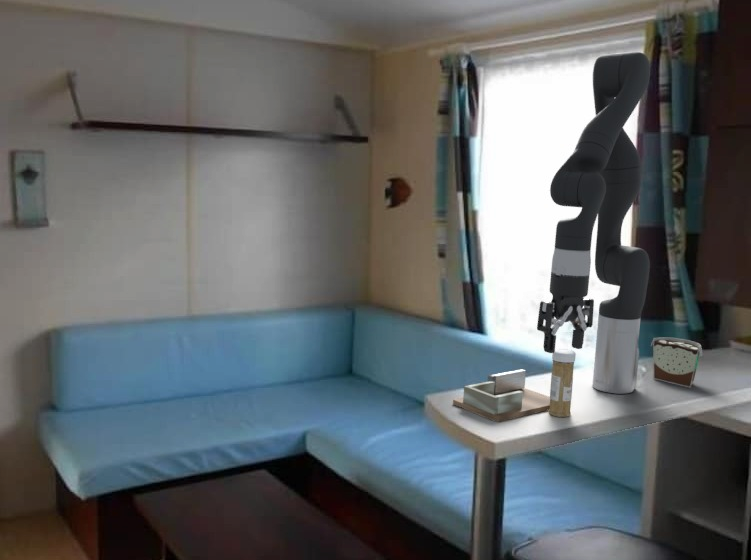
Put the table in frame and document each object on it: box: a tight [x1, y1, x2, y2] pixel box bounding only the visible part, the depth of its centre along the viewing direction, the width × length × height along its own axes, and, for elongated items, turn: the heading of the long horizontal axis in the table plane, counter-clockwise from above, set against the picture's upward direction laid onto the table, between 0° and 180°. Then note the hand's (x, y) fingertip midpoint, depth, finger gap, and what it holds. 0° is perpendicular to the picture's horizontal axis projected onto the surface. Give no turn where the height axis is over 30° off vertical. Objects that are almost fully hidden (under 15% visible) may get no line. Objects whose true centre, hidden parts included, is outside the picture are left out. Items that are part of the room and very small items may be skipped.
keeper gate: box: [486, 369, 527, 395], centre depth 173 cm, size 11×2×4 cm, turn 127°
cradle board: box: [452, 381, 550, 423], centre depth 167 cm, size 20×13×4 cm, turn 127°
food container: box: [650, 336, 703, 389], centre depth 191 cm, size 12×6×10 cm, turn 44°
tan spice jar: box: [547, 348, 577, 418], centre depth 161 cm, size 5×5×13 cm
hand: (563, 350), depth 160 cm, fingers open, 8 cm apart
